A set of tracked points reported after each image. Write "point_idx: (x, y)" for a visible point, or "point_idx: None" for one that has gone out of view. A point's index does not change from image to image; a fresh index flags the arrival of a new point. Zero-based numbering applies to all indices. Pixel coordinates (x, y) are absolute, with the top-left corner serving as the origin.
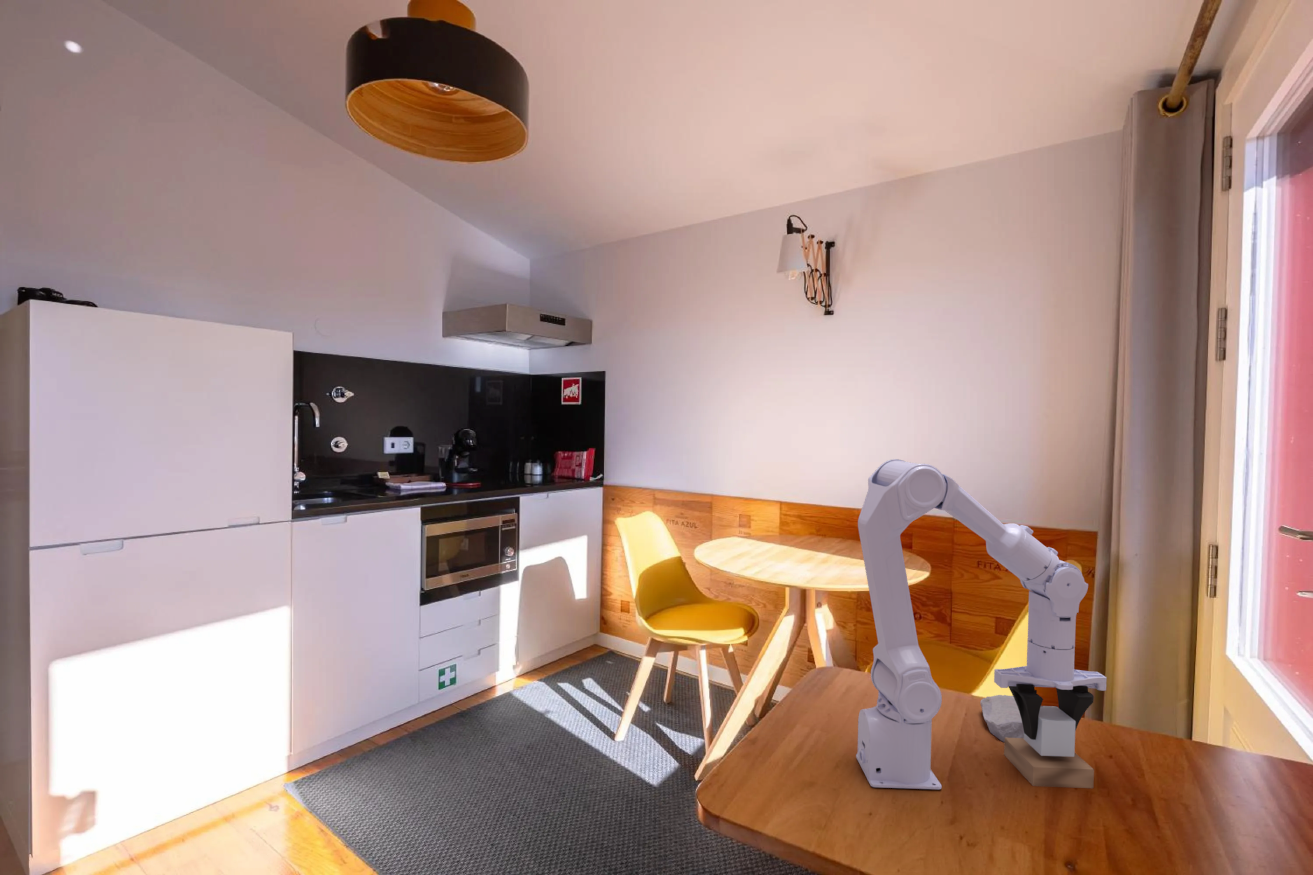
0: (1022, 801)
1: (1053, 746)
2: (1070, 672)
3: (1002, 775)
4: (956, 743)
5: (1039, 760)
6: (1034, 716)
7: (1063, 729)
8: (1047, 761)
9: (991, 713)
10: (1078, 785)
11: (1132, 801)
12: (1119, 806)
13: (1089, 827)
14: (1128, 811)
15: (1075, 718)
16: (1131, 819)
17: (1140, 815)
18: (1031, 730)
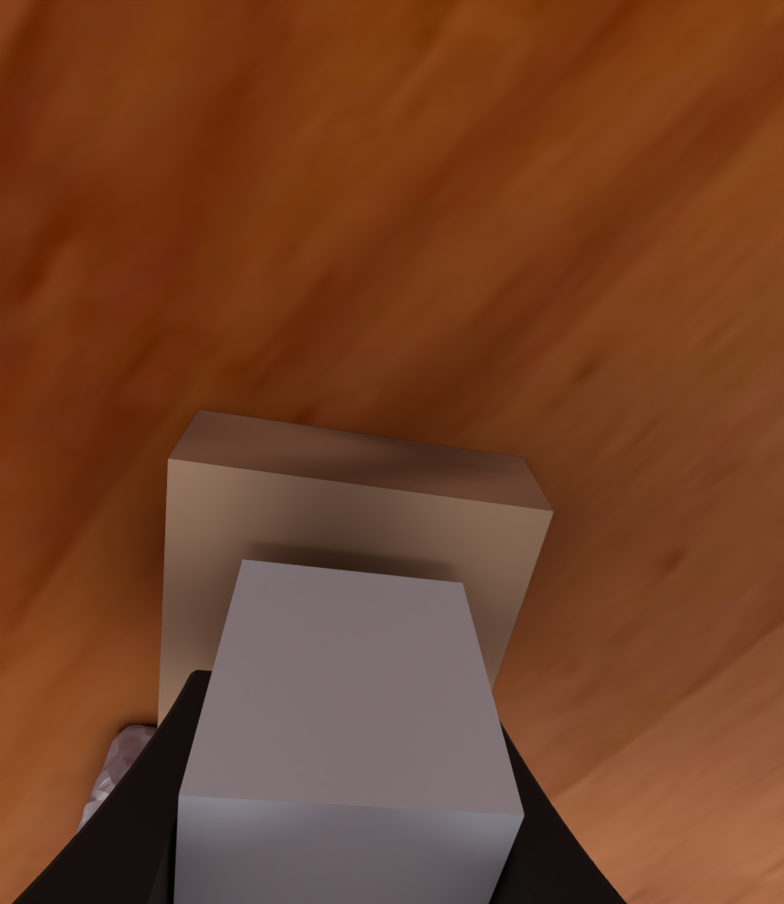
0: (701, 333)
1: (388, 618)
2: None
3: (603, 546)
4: (598, 765)
5: (455, 568)
6: (557, 862)
7: (314, 722)
8: (413, 557)
9: None
10: (280, 426)
11: (44, 262)
12: (167, 223)
13: (535, 32)
14: (145, 165)
15: (140, 833)
16: (188, 77)
17: (93, 112)
18: (513, 747)
